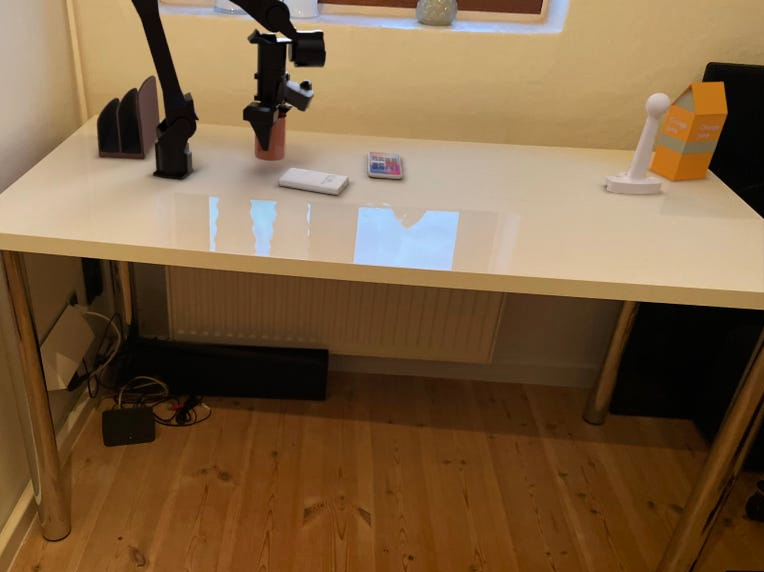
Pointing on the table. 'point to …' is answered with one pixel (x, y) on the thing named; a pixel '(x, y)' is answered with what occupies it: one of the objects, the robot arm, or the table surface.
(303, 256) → the table surface
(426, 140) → the table surface
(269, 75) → the robot arm
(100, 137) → the letter holder
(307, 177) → the hard drive
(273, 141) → the cup
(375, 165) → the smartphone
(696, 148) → the orange juice
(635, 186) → the joystick
